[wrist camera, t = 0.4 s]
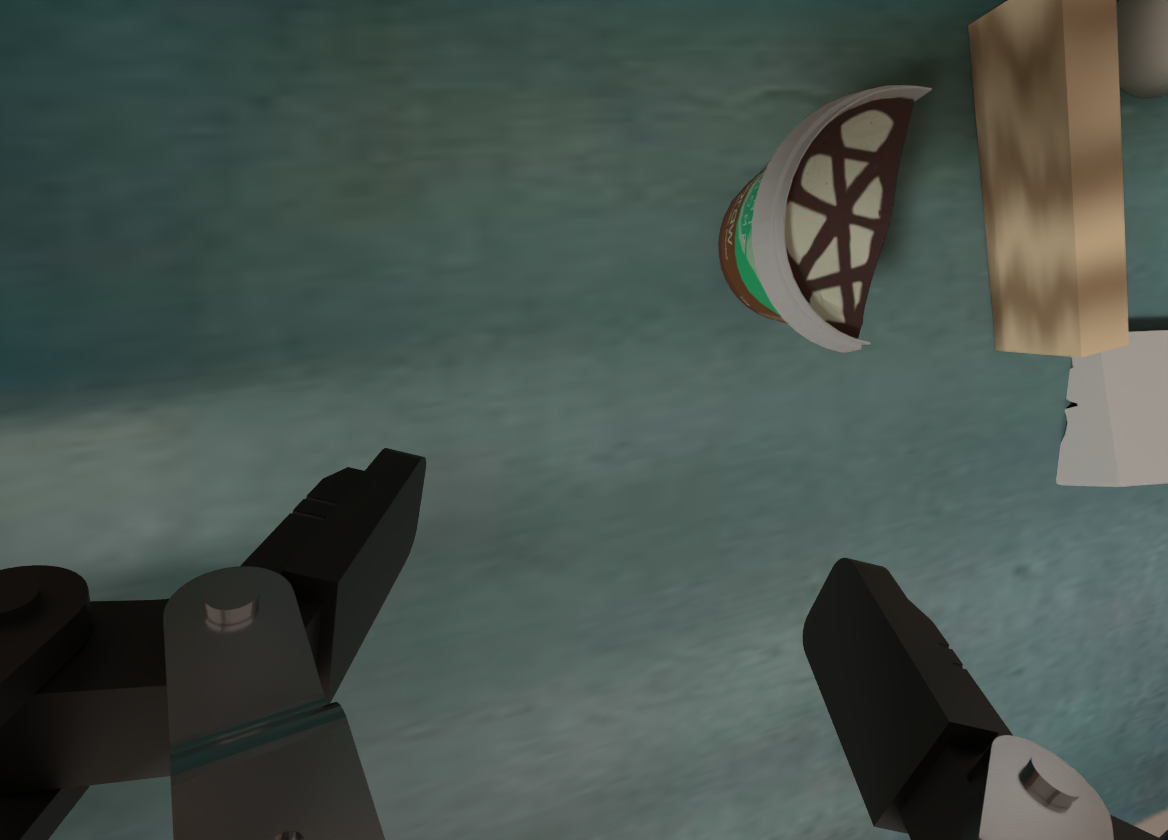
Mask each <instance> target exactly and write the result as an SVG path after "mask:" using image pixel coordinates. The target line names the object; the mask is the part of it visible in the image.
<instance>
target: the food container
mask: <svg viewBox="0 0 1168 840" xmlns="http://www.w3.org/2000/svg"><path fill="white" fill-rule="evenodd" d="M931 90H932V88H928V87H920V86H910V85H889V86H882V87H878V88H873V89H869V90H864V91H861V92H857V93H853V94H849V95H846V96H844V97H841V98H839V99H837V100H834V101H832V102H829V103H827V104H826V105H824V106H822V107H821V108H819V109H818V110H816V111H814V112H813V113H811V114H810V115H809V116H808V117H806V118H805V119H804V120H803V121H802V122H801V123H799V124H798V125H797V126H796V127H795V128H794V129H793V130H792V131H791V132H790V134H789V135H788V136H787V137H786V138H785V140H784V141H783V142H782V143H781V144H780V146H779V147H778V149H777V151H776V152H775V154H774V155H773V157H772V159H771V160H770V162H769V164H768V166H767V168H766V169H765V170H763V171H762V172H761V173H760V174H758V175H757V176H756V177H755V178H754V179H752V180H751V181H750V182H749V183H748V184H747V185H746V186H745V187H744V188H743V189H742V191H741V192H740V193H739V194H738V195H737V196H736V197H735V198H734V199H733V201H732V202H731V204H730V206H729V208H728V210H727V212H726V214H725V216H724V219H723V222H722V225H721V229H720V235H719V259H720V264H721V269H722V271H723V274H724V277H725V280H726V281H727V283H728V285H729V287H730V289H731V290H732V292H733V293H734V294H735V295H736V297H737V298H738V299H739V300H740V301H741V302H742V303H743V304H744V305H745V306H747V307H748V308H749V309H751V310H752V311H754V312H755V313H757V314H759V315H762V316H764V317H766V318H769V319H773V320H776V321H780V322H784V323H787V324H789V325H790V326H791V327H792V328H793V329H794V330H795V331H796V332H798V333H799V334H801V335H802V336H804V337H805V338H807V339H808V340H810V341H811V342H814V343H816V344H818V345H820V346H823V347H825V348H827V349H830V350H834V351H838V352H842V353H845V352H850V351H855V350H860V349H861V346H862V345H870V344H871V343H869V342H866V341H862V340H859V339H858V337H859V333H860V329H861V326H862V324H863V314H864V308H865V304H866V300H867V296H868V292H869V288H870V284H871V280H872V277H873V274H874V270H875V267H876V264H877V261H878V258H879V255H880V252H881V249H882V246H883V243H884V240H885V236H886V233H887V230H888V227H889V223H890V218H891V212H892V206H893V200H894V193H895V185H896V179H897V173H898V167H899V162H900V158H901V154H902V149H903V145H904V141H905V137H906V132H907V128H908V124H909V120H910V116H911V112H912V108H913V104H914V102H915V101H916V100H918V99H919V98H921V97H922V96H924V95H925V94H926V93H928V92H929V91H931Z"/></svg>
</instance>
